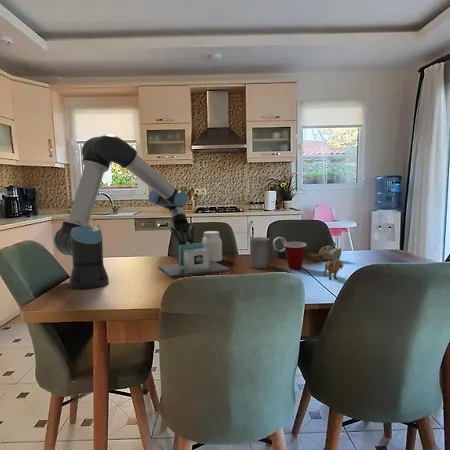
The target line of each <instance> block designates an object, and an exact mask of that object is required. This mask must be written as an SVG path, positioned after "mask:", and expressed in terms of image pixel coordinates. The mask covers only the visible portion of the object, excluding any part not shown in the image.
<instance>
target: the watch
mask: <svg viewBox="0 0 450 450" xmlns="http://www.w3.org/2000/svg"><path fill="white" fill-rule="evenodd" d="M278 239H280V242H281V244H282V245H283V248H282V249H280V250H279V249H278V247H277V246H276V241H278ZM284 243H287V240H286V238H284V236H283V237H281V236H277V237H275V238H274V239H273V240H272V247H273V249H274V252H273V253H274V257H275V258H277V259H284V258H283V257H286V258H287V255H286V250H285V247H284Z"/></svg>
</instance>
